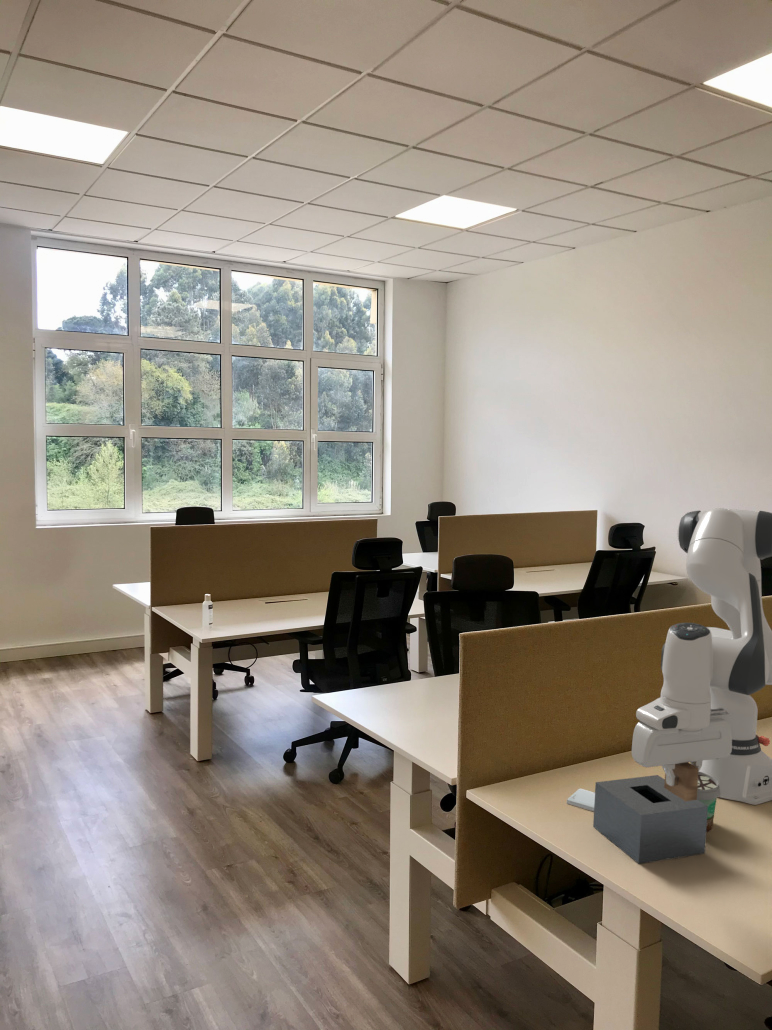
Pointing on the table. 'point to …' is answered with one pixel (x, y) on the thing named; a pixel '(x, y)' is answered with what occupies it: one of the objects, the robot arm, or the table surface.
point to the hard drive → (582, 799)
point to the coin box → (649, 819)
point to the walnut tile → (685, 781)
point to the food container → (708, 795)
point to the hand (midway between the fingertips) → (680, 783)
